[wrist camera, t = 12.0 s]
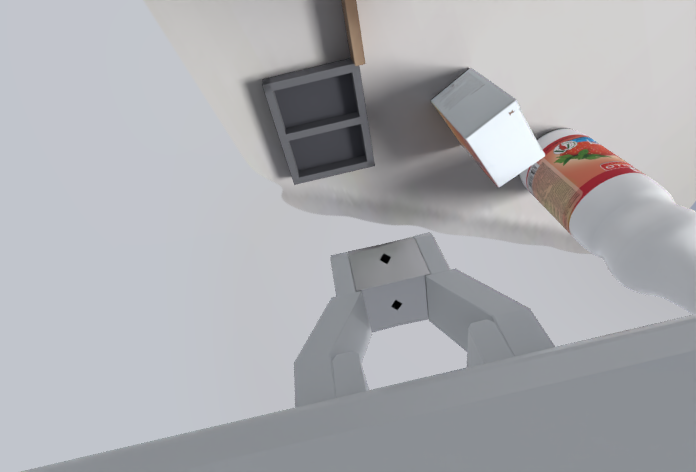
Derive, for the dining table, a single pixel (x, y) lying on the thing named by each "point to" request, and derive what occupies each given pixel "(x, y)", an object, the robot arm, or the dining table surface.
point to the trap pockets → (321, 120)
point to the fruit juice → (617, 215)
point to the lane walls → (353, 31)
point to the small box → (489, 126)
